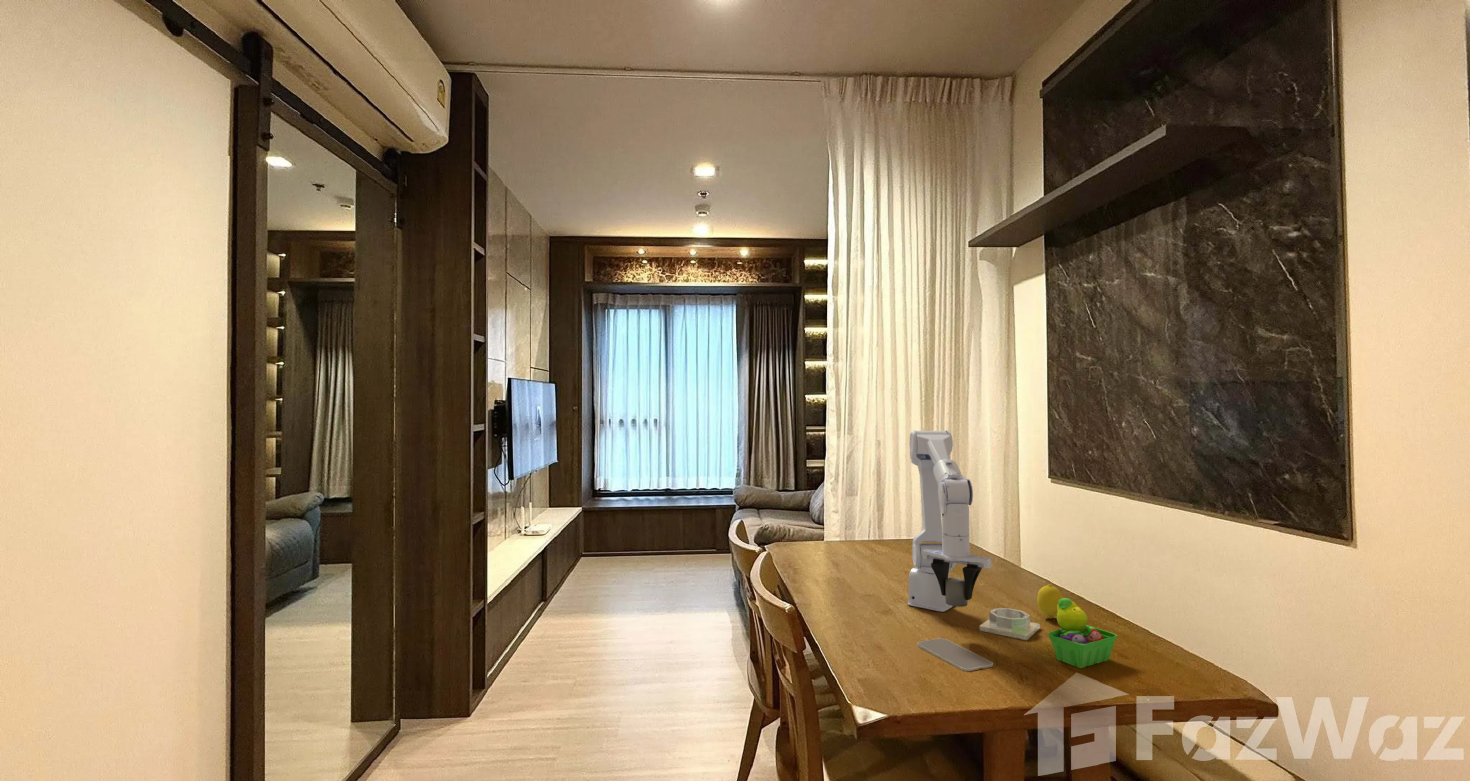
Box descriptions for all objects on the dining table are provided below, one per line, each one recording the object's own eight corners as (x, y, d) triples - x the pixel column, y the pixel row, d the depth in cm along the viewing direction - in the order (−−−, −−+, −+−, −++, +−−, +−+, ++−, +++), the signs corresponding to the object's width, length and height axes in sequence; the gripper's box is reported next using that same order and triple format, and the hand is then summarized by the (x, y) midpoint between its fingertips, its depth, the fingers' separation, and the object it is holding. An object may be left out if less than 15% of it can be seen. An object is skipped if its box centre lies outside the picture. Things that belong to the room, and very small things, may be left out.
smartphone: (965, 669, 121) (914, 642, 135) (965, 674, 121) (914, 646, 135) (995, 663, 124) (943, 637, 138) (995, 668, 124) (943, 641, 137)
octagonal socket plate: (979, 630, 144) (979, 614, 144) (994, 619, 151) (994, 604, 151) (1027, 640, 137) (1026, 623, 137) (1039, 628, 145) (1039, 612, 145)
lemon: (1057, 614, 154) (1057, 581, 155) (1067, 622, 149) (1066, 587, 149) (1033, 614, 155) (1033, 580, 155) (1042, 621, 149) (1041, 587, 150)
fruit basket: (1082, 672, 121) (1081, 611, 121) (1041, 656, 128) (1040, 599, 129) (1119, 661, 126) (1118, 603, 126) (1077, 646, 134) (1076, 591, 134)
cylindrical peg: (942, 603, 140) (941, 579, 140) (950, 599, 144) (950, 575, 144) (963, 607, 137) (962, 583, 138) (970, 602, 141) (970, 579, 141)
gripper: (916, 532, 143) (917, 594, 142) (982, 541, 133) (983, 607, 133) (929, 528, 148) (930, 587, 148) (994, 536, 139) (995, 599, 138)
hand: (956, 596), depth 141 cm, fingers closed on cylindrical peg, 5 cm apart
